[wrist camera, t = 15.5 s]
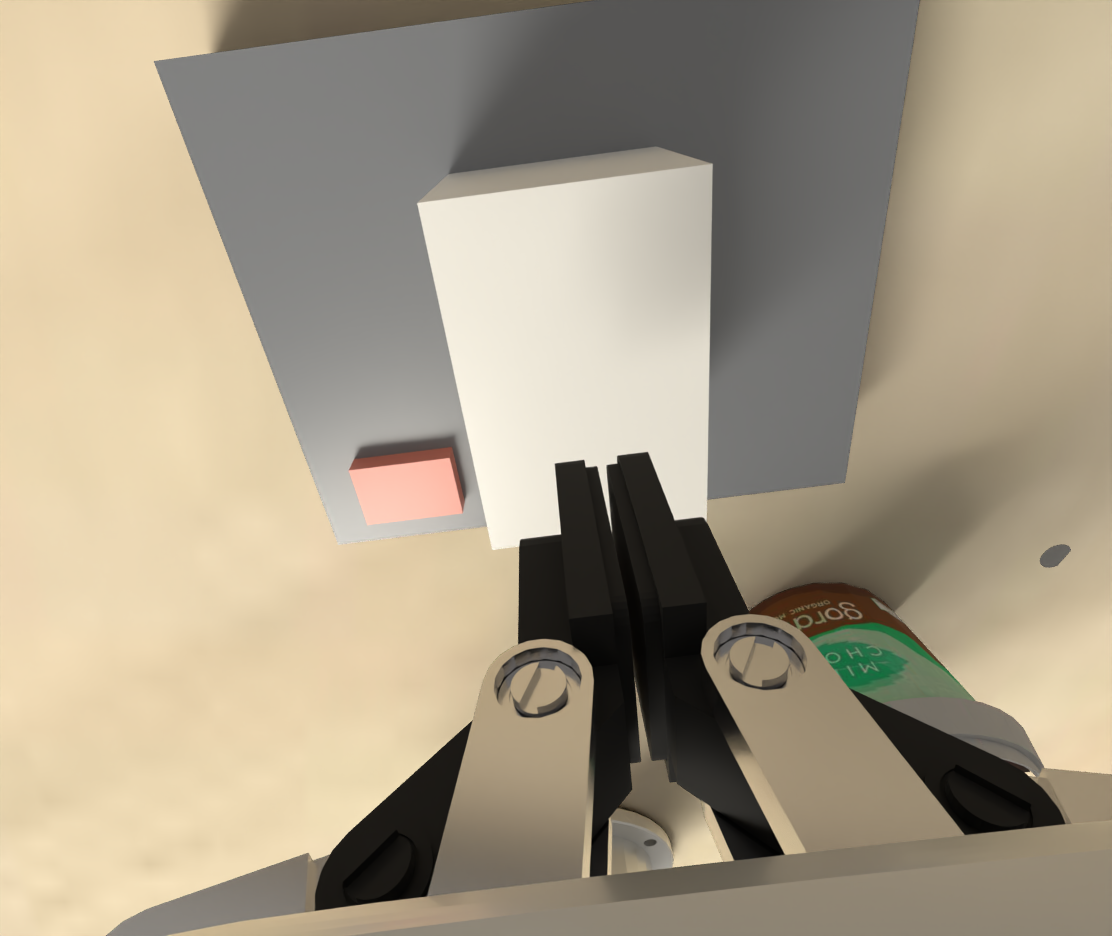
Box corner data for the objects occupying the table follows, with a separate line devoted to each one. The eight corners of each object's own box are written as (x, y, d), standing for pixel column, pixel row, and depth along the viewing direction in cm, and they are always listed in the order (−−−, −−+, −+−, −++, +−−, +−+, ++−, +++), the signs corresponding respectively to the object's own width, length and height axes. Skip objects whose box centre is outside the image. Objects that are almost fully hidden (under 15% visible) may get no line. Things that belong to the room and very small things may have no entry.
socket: (810, 442, 26) (854, 494, 23) (357, 498, 27) (332, 557, 23) (863, -23, 18) (945, -53, 15) (209, 68, 19) (136, 59, 15)
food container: (889, 523, 29) (1042, 699, 20) (920, 603, 32) (1067, 786, 23) (659, 628, 32) (709, 821, 23) (707, 693, 35) (767, 885, 26)
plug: (648, 392, 25) (706, 523, 17) (501, 410, 25) (492, 549, 17) (639, 140, 20) (712, 163, 12) (458, 165, 20) (417, 202, 12)
